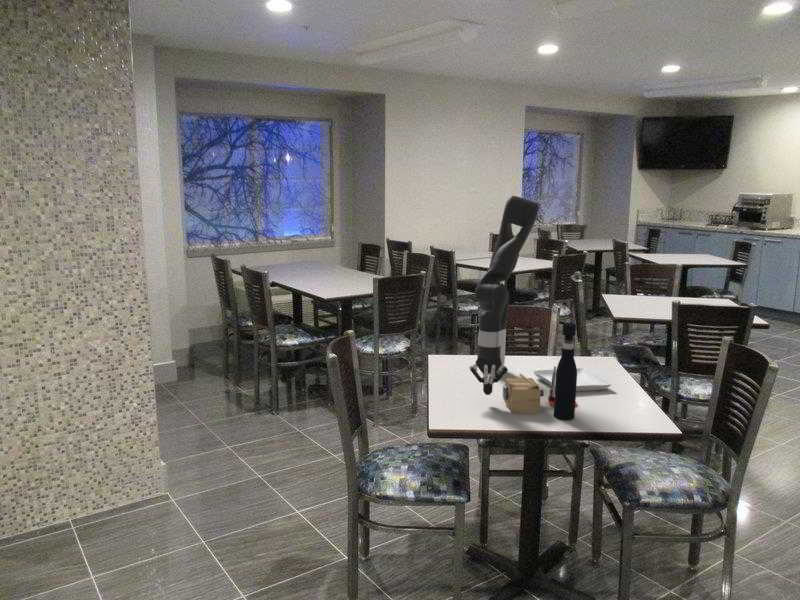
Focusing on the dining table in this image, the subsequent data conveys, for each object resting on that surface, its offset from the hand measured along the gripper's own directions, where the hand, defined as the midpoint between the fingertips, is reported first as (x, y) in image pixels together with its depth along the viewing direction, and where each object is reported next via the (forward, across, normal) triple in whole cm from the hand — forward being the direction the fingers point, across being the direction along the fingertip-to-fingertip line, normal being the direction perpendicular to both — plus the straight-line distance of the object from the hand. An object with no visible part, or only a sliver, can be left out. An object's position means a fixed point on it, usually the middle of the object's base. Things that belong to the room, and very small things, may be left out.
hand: (487, 394), depth 212 cm
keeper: (-7, -11, +6) cm, 15 cm away
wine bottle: (+4, -22, +12) cm, 26 cm away
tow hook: (+4, -26, 0) cm, 26 cm away
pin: (+2, -12, 0) cm, 12 cm away
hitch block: (+4, -11, +2) cm, 12 cm away
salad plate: (+4, -35, -21) cm, 41 cm away
